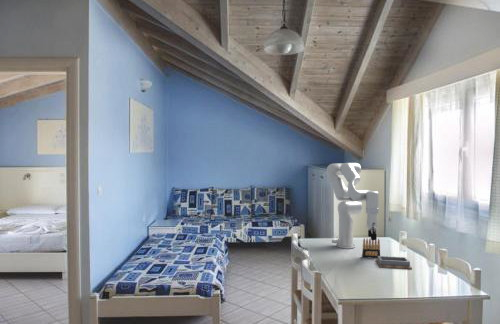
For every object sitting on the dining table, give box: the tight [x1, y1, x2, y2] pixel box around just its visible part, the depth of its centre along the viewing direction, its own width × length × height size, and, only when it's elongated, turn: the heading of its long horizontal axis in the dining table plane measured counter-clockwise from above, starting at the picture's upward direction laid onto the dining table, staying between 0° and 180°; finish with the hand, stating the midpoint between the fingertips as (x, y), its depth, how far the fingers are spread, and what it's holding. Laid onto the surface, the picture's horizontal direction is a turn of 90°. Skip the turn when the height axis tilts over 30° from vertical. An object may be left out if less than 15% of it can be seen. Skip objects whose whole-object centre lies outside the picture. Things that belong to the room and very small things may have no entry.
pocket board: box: [375, 255, 413, 270], centre depth 215 cm, size 17×14×4 cm
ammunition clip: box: [361, 238, 381, 259], centre depth 230 cm, size 11×2×12 cm, turn 84°
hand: (372, 238), depth 229 cm, fingers open, 9 cm apart
